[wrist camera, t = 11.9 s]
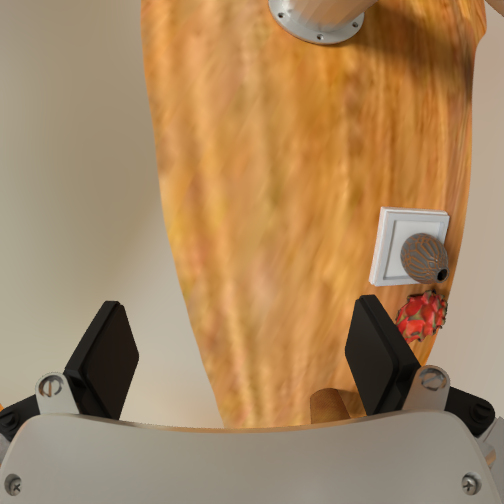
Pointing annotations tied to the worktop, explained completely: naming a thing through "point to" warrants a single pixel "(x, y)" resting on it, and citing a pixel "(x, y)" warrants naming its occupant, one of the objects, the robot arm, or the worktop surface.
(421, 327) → the dragon fruit
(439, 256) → the vase
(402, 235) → the baseplate
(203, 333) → the worktop surface
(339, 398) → the disposable coffee cup
